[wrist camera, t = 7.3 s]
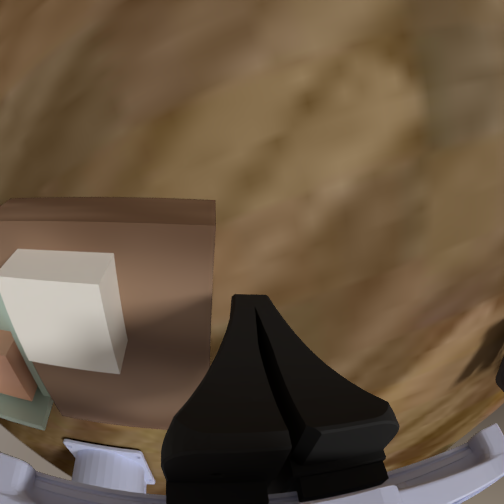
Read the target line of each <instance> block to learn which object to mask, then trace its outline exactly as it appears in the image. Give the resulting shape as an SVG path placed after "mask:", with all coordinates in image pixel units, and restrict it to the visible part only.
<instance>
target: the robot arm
mask: <svg viewBox="0 0 504 504" xmlns="http://www.w3.org/2000/svg"><path fill="white" fill-rule="evenodd" d="M398 430H399V424H398V421H397V419H396V417H395V414H394V412H393V410H392V408H391V407H390V405H389V403H388V402H387V401H385V400H383V399H381V398H379V397H376V396H374V395H372V394H370V393H368V392H366V391H365V390H363V389H361V388H360V387H358V386H356V385H355V384H353V383H351V382H350V381H348V380H347V379H345V378H344V377H342V376H341V375H340V374H338V373H337V372H336V371H334V370H333V369H331V368H330V367H329V366H328V365H326V364H325V363H324V362H323V361H322V360H321V359H320V358H318V357H317V356H316V355H315V354H314V353H313V352H312V351H311V350H310V349H309V348H308V347H307V346H306V345H305V344H304V343H303V342H302V341H301V339H300V338H299V337H298V336H297V335H296V334H295V333H294V331H293V330H292V329H291V328H290V326H289V325H288V324H287V323H286V321H285V320H284V319H283V317H282V316H281V315H280V313H279V312H278V310H277V309H276V308H275V306H274V305H273V303H272V302H271V300H270V299H269V297H268V296H267V295H245V294H235V295H233V296H232V300H231V312H230V320H229V323H228V327H227V330H226V333H225V336H224V338H223V341H222V343H221V346H220V348H219V350H218V352H217V355H216V357H215V359H214V361H213V363H212V364H211V366H210V368H209V370H208V371H207V373H206V375H205V376H204V378H203V380H202V381H201V383H200V384H199V386H198V387H197V388H196V390H195V391H194V392H193V394H192V395H191V397H190V398H189V399H188V401H187V402H186V403H185V404H184V405H183V406H182V408H181V409H180V410H179V411H178V412H177V413H176V414H175V416H174V417H173V419H172V421H171V424H170V426H169V428H168V430H167V433H166V435H165V438H164V441H163V445H162V450H161V468H162V470H163V473H164V476H165V478H166V495H155V494H146V484H155V480H154V477H153V475H152V473H151V471H150V469H149V467H148V464H147V462H146V460H145V458H144V455H143V453H142V452H141V451H138V450H131V449H123V448H116V447H109V446H102V445H96V444H90V443H85V442H80V441H75V440H70V439H64V441H63V443H64V444H65V445H66V447H67V448H68V449H69V451H70V452H71V453H72V454H73V456H74V457H75V458H76V459H75V464H74V469H73V475H72V481H70V480H66V479H62V478H58V477H54V476H51V475H47V474H44V473H41V472H37V471H35V469H34V468H33V467H32V466H31V465H30V464H28V463H27V462H25V461H23V460H21V459H19V458H16V457H13V456H10V455H7V454H5V453H2V452H0V504H460V503H462V502H464V501H466V500H467V499H469V498H471V497H473V496H474V495H476V494H478V493H480V492H481V491H483V490H484V489H486V488H487V487H489V486H490V485H491V484H493V483H494V482H496V481H497V480H499V479H500V478H501V477H503V476H504V435H503V433H502V432H501V430H500V428H499V426H498V424H497V423H494V424H492V425H490V426H488V427H486V428H484V429H482V430H480V431H479V432H478V433H476V434H475V435H474V436H473V437H471V439H470V440H469V441H468V442H467V443H464V444H462V445H460V446H458V447H455V448H453V449H451V450H448V451H446V452H443V453H441V454H438V455H436V456H433V457H430V458H428V459H425V460H422V461H419V462H417V463H414V464H411V465H408V466H405V467H402V468H398V469H395V470H392V471H389V472H387V471H386V469H385V466H384V463H383V460H385V459H386V456H385V453H384V450H383V449H384V448H385V447H386V446H387V444H388V443H389V442H390V441H391V440H392V439H393V438H394V437H395V435H396V434H397V432H398Z"/></svg>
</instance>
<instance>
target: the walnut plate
mask: <svg viewBox="0 0 504 504" xmlns="http://www.w3.org/2000/svg"><path fill="white" fill-rule="evenodd" d="M215 231H216V210H215V200H196V199H169V198H124V197H56V198H15V199H9V200H8V201H7V202H5V203H4V204H3V205H2V206H0V268H1V267H2V266H3V265H4V264H5V262H6V261H7V260H8V259H9V258H10V257H11V256H12V254H13V253H14V252H15V251H16V250H17V249H32V250H53V251H75V252H97V253H114V259H115V267H116V275H117V282H118V288H119V295H120V301H121V307H122V313H123V318H124V324H125V329H126V334H127V339H128V342H127V346H126V350H125V354H124V358H123V363H122V367H121V372H120V374H113V373H104V372H96V371H88V370H81V369H74V368H67V367H61V366H55V365H49V364H44V363H38V362H33V361H32V363H33V365H34V367H35V369H36V370H37V372H38V374H39V376H40V378H41V380H42V382H43V384H44V386H45V387H46V389H47V391H48V393H49V394H50V396H51V398H52V400H53V401H54V403H55V405H56V406H57V408H58V410H59V411H60V413H61V415H62V416H66V417H71V418H76V419H82V420H88V421H94V422H100V423H107V424H114V425H122V426H131V427H141V428H152V429H166V430H168V428H169V426H170V424H171V421H172V419H173V417H174V416H175V414H176V413H177V412H178V411H179V410H180V409H181V408H182V406H183V405H184V404H185V403H186V402H187V401H188V399H189V398H190V397H191V395H192V394H193V392H194V391H195V390H196V388H197V387H198V386H199V384H200V383H201V381H202V380H203V378H204V376H205V375H206V373H207V371H208V370H209V368H210V336H211V309H212V286H213V266H214V247H215Z"/></svg>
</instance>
